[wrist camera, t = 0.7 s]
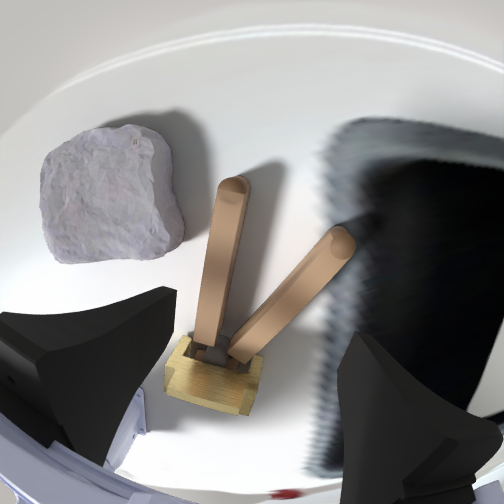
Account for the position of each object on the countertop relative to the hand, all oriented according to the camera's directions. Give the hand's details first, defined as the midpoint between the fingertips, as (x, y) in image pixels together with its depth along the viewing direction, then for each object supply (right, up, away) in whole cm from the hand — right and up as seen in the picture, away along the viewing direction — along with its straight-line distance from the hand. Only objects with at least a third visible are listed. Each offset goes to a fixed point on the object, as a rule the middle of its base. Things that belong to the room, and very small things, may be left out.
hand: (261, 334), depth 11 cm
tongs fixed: (-2, -1, +11) cm, 11 cm away
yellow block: (-3, -6, +12) cm, 14 cm away
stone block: (-11, +8, +10) cm, 17 cm away
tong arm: (+2, 0, +10) cm, 10 cm away
